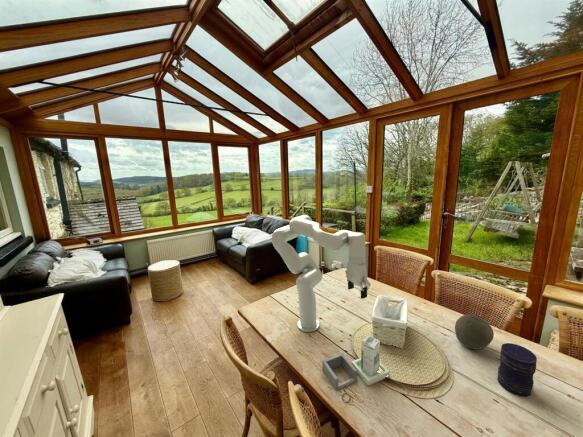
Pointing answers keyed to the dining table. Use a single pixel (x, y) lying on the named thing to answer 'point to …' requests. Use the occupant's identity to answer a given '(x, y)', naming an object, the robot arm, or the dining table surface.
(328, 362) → the bay
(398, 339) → the storage basket
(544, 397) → the dining table surface
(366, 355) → the syrup box
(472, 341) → the grey oval rock
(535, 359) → the storage jar
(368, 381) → the tray
